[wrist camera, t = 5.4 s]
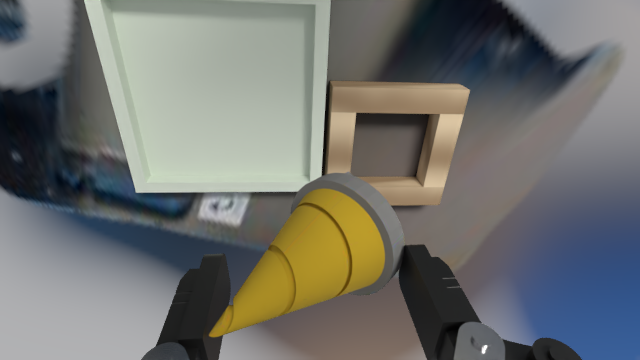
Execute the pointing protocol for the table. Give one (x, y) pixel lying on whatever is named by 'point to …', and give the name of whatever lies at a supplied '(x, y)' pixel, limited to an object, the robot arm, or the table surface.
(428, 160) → the square wooden frame
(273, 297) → the yellow cone
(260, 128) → the tray
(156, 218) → the table surface
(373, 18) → the table surface
